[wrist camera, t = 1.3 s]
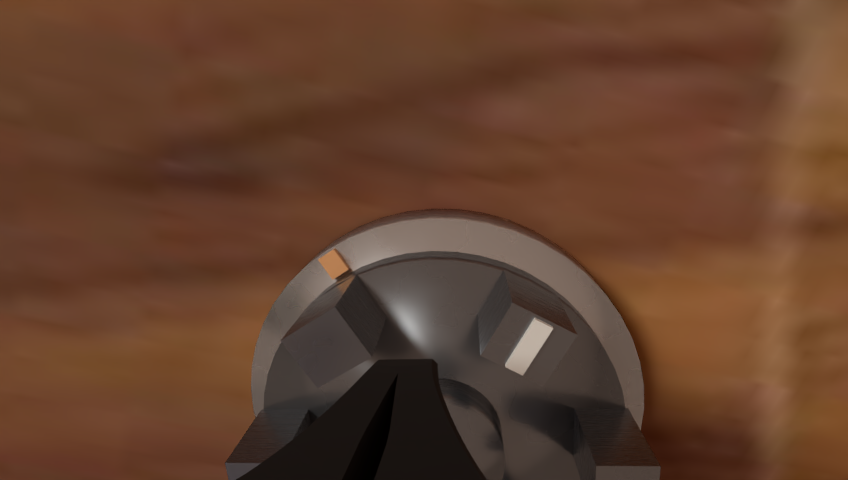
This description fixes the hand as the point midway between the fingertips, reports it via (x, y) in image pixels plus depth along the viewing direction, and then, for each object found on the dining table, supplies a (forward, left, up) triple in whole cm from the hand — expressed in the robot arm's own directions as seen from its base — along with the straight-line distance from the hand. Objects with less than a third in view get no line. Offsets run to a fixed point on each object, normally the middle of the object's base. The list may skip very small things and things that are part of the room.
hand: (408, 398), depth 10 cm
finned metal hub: (-6, -3, -8) cm, 10 cm away
